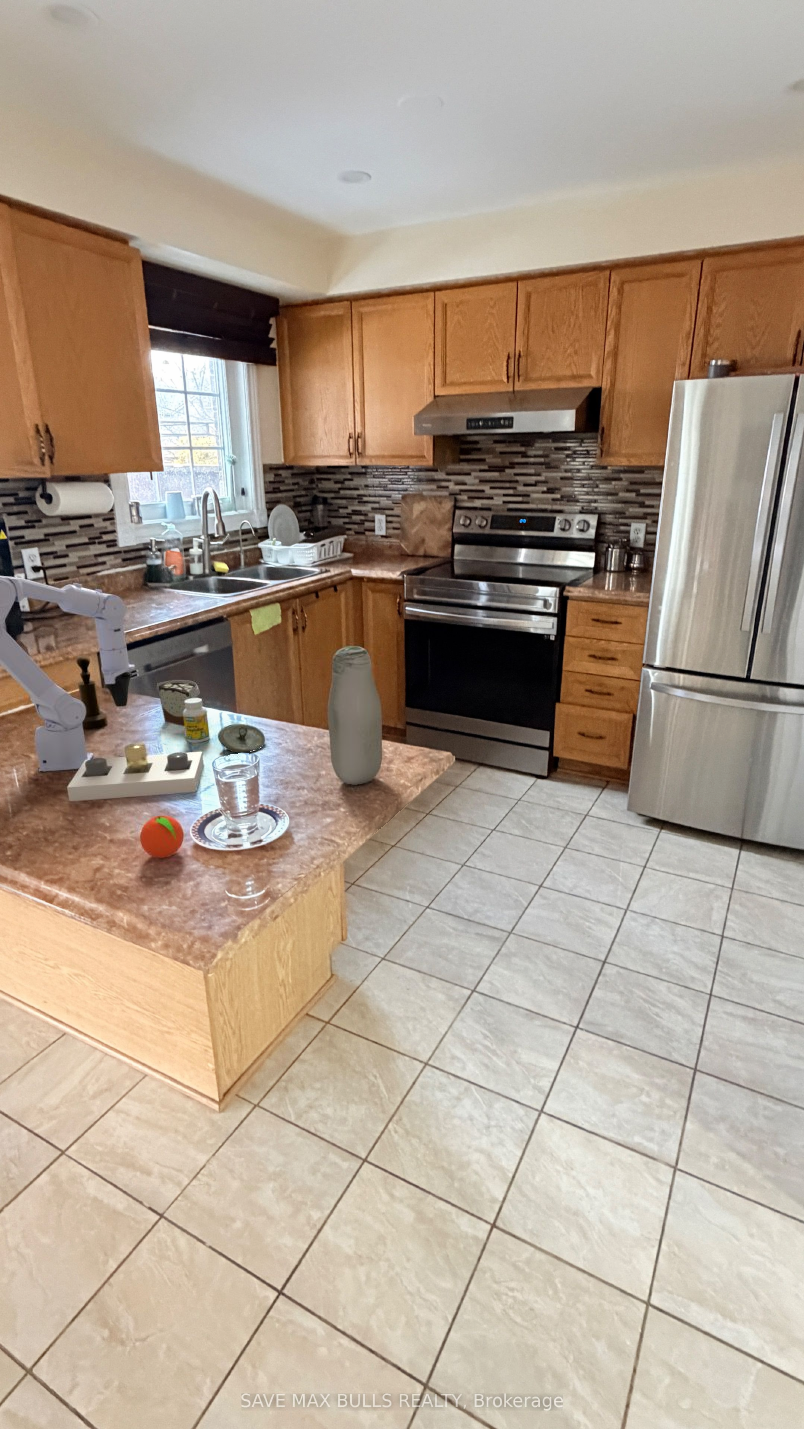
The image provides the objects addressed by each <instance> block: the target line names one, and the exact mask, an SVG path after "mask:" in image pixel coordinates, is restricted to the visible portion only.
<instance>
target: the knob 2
mask: <svg viewBox="0 0 804 1429" xmlns="http://www.w3.org/2000/svg"><path fill="white" fill-rule="evenodd" d="M186 753H187V752H182V751H179V752H173V753H169V754H170V755H168V756H167V761H168V768H169V771H176V770H189V764H188V756H187V754H186Z"/></svg>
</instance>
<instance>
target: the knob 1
mask: <svg viewBox="0 0 804 1429" xmlns="http://www.w3.org/2000/svg"><path fill="white" fill-rule="evenodd" d="M104 758H105V757H95V758H91V759H90V760H88V761H86V762H85V767H86V772H87V777H93V776H107V775H108V768H107V762H106V759H104Z"/></svg>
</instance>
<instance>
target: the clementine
mask: <svg viewBox="0 0 804 1429" xmlns="http://www.w3.org/2000/svg"><path fill="white" fill-rule="evenodd" d="M184 833H185V832H184V831H183V827H182V825H181V824H180V822H179V821H178V820H176V819H175V818H174V817H172V816H168V815H161V814H160V815H156V816H153V817H151V818H150V819H149V820H147V821H146V822H145V823H144V825H143V827H142V828H141V831H140V834H139V841H140V844H141V847H142V849H143V850H144V852H146V854H148V855H149V856H151V857H154V858H158V859H164V858H169V857H171V856H172V855H174V854H176V853H177V852H178V851H179V850H180V848H181V847H182V845H183V842H184Z"/></svg>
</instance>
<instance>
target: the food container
mask: <svg viewBox="0 0 804 1429" xmlns="http://www.w3.org/2000/svg"><path fill="white" fill-rule="evenodd" d="M156 692H158V696H159V700H160V705H161V709H162V710H161V711H162V714H163V719H164V723H166V724H172V725H175V726H179V727H183V728H185V726H184V719H183V711H184V710H185V709H186V707H185V704H184V701H185V700H187V699H191V698H198V696H199V695H200V689H199V686H198V685H197V683H196V682H194V681H192V680H186V679H185V680H184V679H173V680H167V681H161V682H157V685H156Z"/></svg>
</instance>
